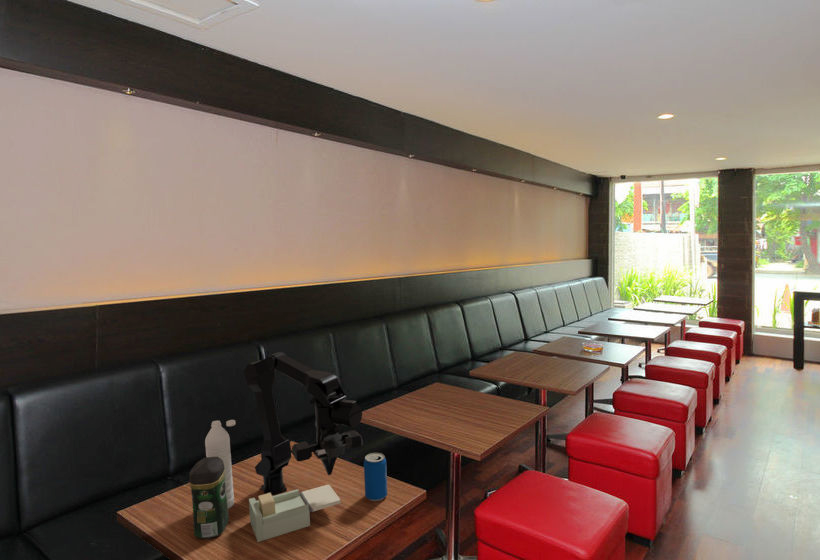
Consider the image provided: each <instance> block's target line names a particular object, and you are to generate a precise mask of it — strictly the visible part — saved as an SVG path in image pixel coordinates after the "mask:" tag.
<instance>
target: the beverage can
mask: <svg viewBox="0 0 820 560" xmlns="http://www.w3.org/2000/svg"><path fill="white" fill-rule="evenodd" d="M387 472H388V471H387V459H386V456H385V455H384V454H383V453H382V452H370V453H368V454H367V455H365V457H364V460H363V475H364V476H363V477H364V496H365V497H366V498H367V499H368V500H370V501H372V502H380V501H382V500H383V499H384V498H386V497H387V496H388V479H387V478H388V474H387Z"/></svg>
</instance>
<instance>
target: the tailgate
mask: <svg viewBox="0 0 820 560" xmlns="http://www.w3.org/2000/svg"><path fill="white" fill-rule="evenodd" d="M299 495H300V497H301V498H302V500H303V502H304V503H305V505H307V504H308V506H309V513H313V512H316V511H320V510H323V509H326V508H330V507H333V506H337V505H340V504H341V503H342V501H341V498H340V497H339V496H338V494H337V493H336V492H335V491H334V489H333V487H331V485H330V484H325V485H321V486H318V487H315V488H311V489H307V490H303V491H299Z"/></svg>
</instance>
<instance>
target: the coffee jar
mask: <svg viewBox="0 0 820 560" xmlns="http://www.w3.org/2000/svg"><path fill="white" fill-rule="evenodd" d="M188 476H189V486H190V491H191V501H192V518H193V522H192V523H193V534H194V536H195V538H198V539H201V540H202V539H204V540H205V539H212V538H215V537H219V536H220V535H222V534H223V532H224V531H225V529H226V528H227V525H228V523H229V520H230V517H229V509H228V507H227V498H226V487H225V468H224V462H223V460H222V459H221V458H219V457H205V456H204V457H203V458H202V459H200V460H198V461H197V462H196V463H195V464H194V465H193V467H191V470H190V471H189V474H188Z"/></svg>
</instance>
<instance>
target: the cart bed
mask: <svg viewBox="0 0 820 560" xmlns="http://www.w3.org/2000/svg"><path fill="white" fill-rule="evenodd" d="M299 494H300V489H299V488H296V489H293V490H291V491H285V492H281V493H278V494H276V495H275V494H274V495H272V497H273V499H274V501H275V512H276V514H273V515H269V516H266V517H263V518H262V514H261V512H260V509H259V499H258V500H256V498H255V497H252V498H248V505H249V506H248V508H249V522H250V526H251V527H252V530H253V533H254V536H255V538H256V541H257V543H260V542H263V541H265V540H269V539H272V538H276V537H278V536H279V537H280V536H282V535H285V534H288V533H291V532H294V531H297V530H301V529H304V528H306V527H310V526H311V519H310V511H309V506H308V504H307V505H305V503H304V501H303V500H302V498H301V496H300V495H299Z"/></svg>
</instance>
